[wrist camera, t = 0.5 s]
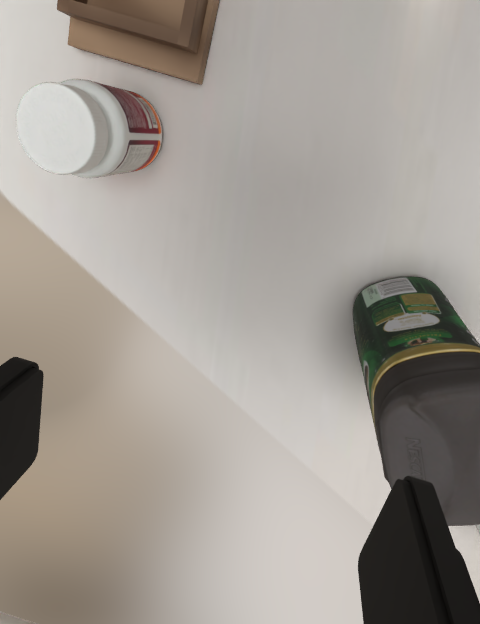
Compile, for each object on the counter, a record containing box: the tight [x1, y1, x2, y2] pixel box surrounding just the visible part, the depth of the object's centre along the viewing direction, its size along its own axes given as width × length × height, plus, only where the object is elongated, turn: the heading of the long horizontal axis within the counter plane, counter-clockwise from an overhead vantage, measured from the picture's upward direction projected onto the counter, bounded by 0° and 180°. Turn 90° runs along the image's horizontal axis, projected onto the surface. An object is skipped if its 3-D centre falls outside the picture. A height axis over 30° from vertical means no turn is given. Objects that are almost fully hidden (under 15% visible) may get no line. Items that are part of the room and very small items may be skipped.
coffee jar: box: [353, 277, 480, 526], centre depth 30 cm, size 10×8×19 cm
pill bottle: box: [16, 79, 162, 178], centre depth 31 cm, size 6×6×11 cm
